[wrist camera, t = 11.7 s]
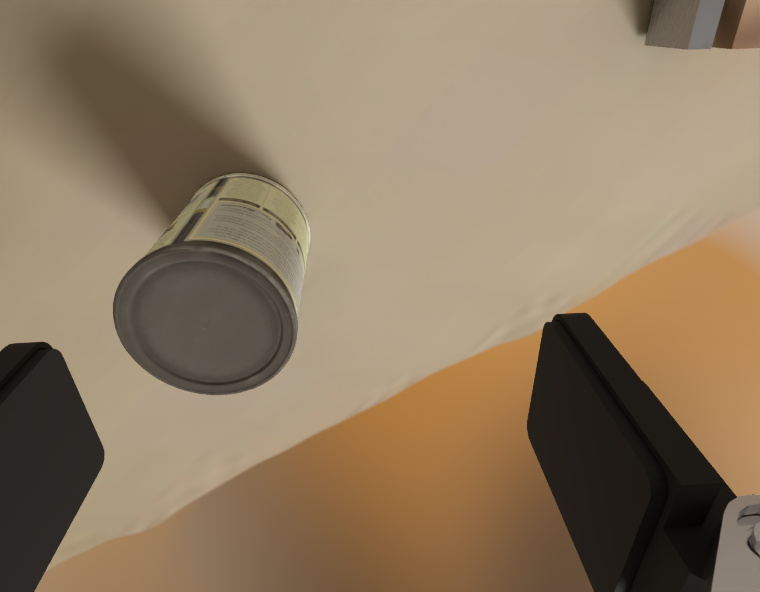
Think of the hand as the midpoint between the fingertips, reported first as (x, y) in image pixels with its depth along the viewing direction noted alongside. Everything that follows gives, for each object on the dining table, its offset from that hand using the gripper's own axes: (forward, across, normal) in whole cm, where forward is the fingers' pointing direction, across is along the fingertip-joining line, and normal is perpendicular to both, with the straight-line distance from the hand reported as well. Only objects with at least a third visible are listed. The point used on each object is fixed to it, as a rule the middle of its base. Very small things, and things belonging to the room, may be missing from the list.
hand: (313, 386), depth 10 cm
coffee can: (+31, +8, +9) cm, 33 cm away
